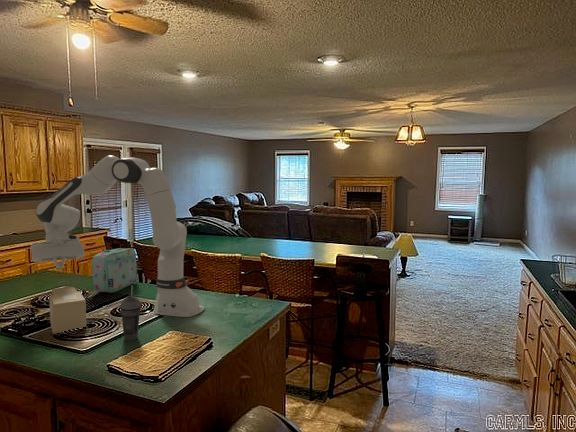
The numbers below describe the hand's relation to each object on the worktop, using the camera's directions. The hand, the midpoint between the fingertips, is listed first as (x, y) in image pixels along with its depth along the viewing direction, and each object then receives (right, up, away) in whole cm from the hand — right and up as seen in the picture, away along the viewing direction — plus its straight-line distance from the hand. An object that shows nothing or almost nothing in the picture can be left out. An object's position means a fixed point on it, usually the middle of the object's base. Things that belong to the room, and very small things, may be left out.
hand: (60, 267), depth 174 cm
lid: (+11, -10, -16) cm, 21 cm away
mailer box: (+14, -21, -18) cm, 31 cm away
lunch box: (+9, -16, +35) cm, 40 cm away
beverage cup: (+41, -23, -27) cm, 54 cm away
